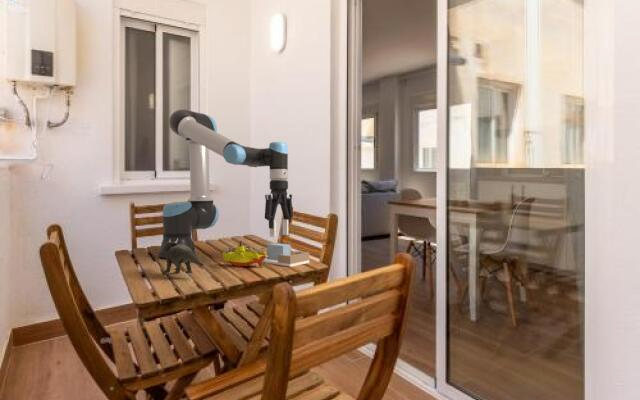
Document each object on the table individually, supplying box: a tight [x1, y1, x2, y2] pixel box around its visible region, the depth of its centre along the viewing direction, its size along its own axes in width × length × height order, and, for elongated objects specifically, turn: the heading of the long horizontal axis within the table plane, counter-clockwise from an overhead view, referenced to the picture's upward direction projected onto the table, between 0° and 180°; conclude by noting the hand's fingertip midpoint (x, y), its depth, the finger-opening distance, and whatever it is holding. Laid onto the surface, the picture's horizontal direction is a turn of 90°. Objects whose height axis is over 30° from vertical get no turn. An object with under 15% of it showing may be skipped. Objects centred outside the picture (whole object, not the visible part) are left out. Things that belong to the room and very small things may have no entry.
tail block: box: [266, 242, 292, 260], centre depth 158 cm, size 9×4×6 cm, turn 52°
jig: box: [228, 244, 310, 268], centre depth 162 cm, size 37×11×4 cm, turn 52°
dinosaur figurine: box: [162, 238, 205, 275], centre depth 136 cm, size 22×8×11 cm, turn 48°
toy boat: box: [222, 240, 266, 268], centre depth 148 cm, size 6×18×10 cm, turn 71°
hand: (279, 235), depth 158 cm, fingers open, 7 cm apart
